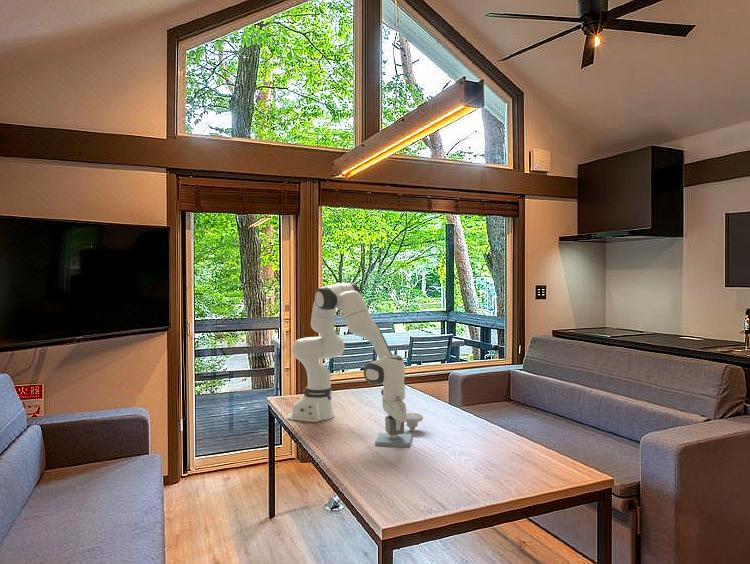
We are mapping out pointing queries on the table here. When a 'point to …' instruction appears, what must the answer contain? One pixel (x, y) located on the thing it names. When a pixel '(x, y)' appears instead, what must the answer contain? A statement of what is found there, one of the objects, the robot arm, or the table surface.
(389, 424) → the collar
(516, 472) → the table surface
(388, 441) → the base
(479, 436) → the table surface
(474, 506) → the table surface
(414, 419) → the showerhead
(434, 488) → the table surface
